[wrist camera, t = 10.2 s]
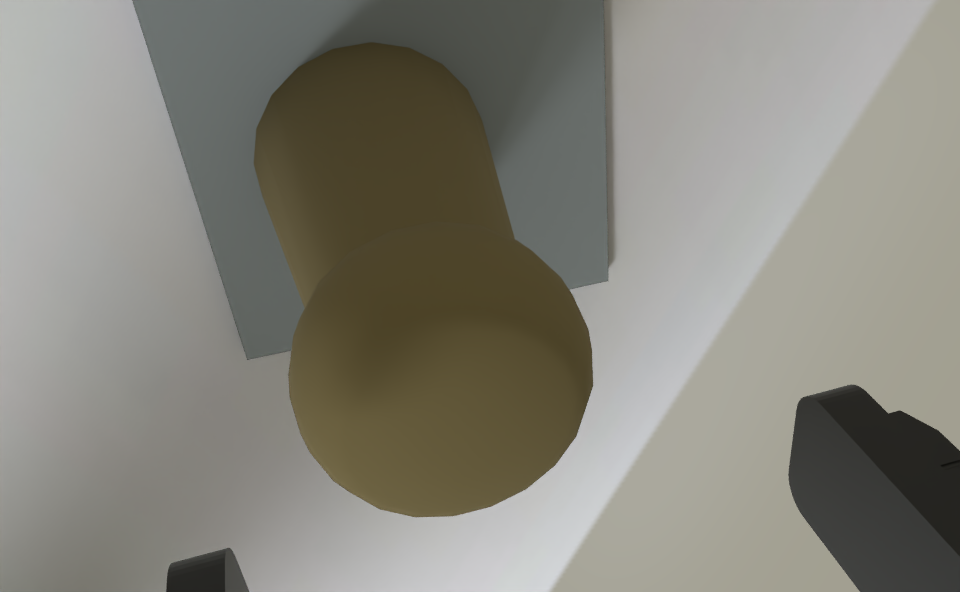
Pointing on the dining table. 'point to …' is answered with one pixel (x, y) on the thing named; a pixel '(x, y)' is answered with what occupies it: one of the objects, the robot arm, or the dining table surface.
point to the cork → (414, 290)
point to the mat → (432, 32)
